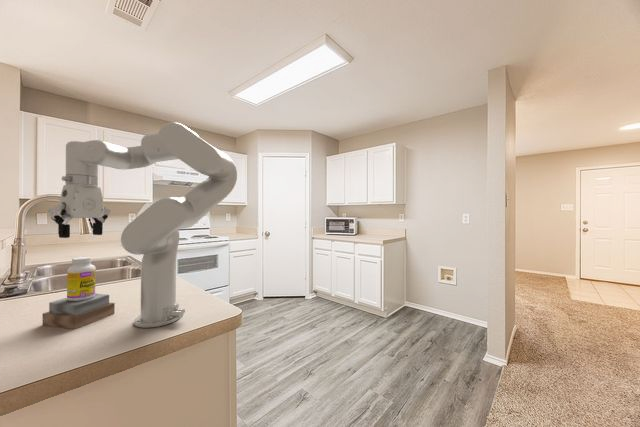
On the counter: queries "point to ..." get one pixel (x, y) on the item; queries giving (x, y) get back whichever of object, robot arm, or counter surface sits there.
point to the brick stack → (78, 312)
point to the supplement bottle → (81, 279)
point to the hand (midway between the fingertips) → (81, 236)
